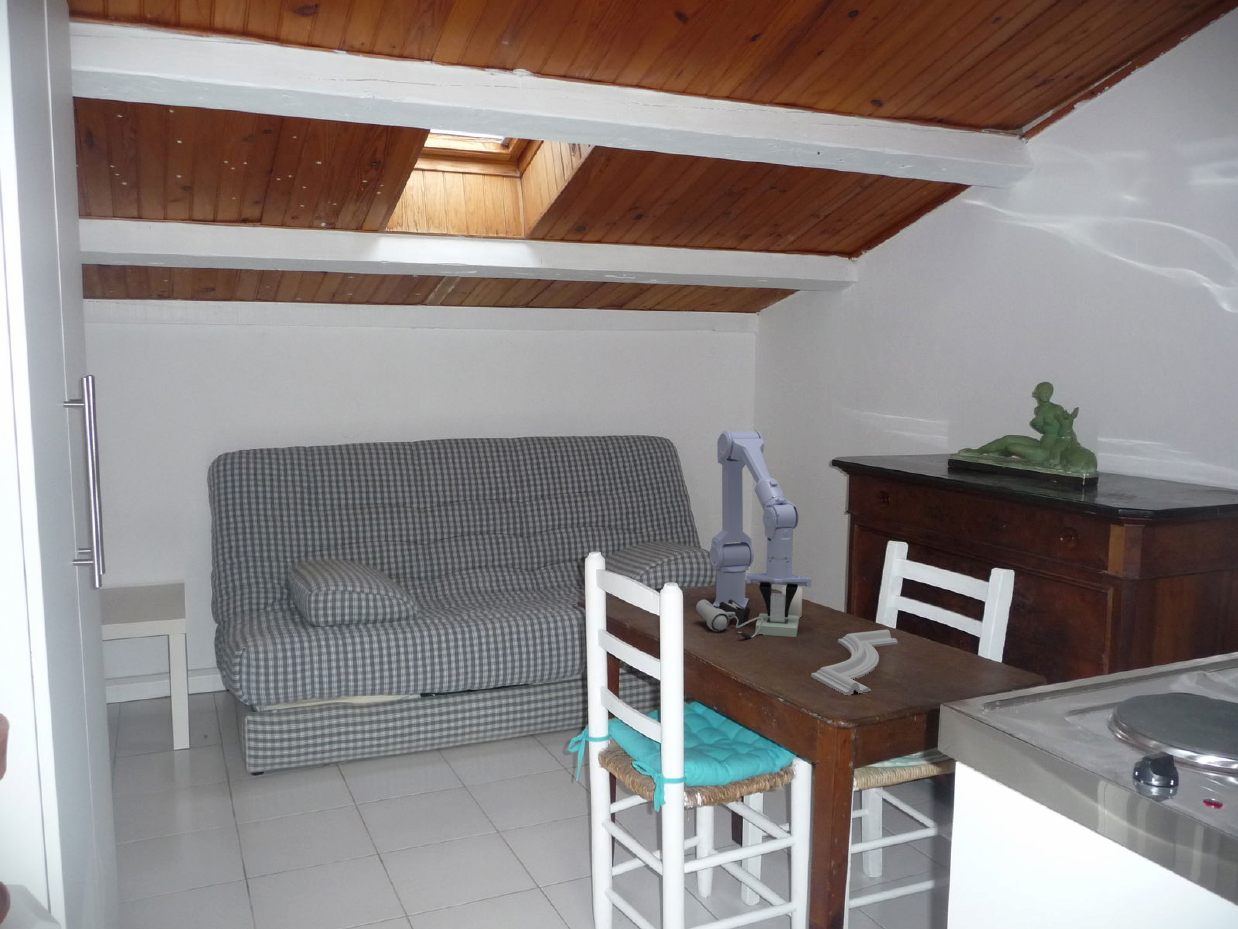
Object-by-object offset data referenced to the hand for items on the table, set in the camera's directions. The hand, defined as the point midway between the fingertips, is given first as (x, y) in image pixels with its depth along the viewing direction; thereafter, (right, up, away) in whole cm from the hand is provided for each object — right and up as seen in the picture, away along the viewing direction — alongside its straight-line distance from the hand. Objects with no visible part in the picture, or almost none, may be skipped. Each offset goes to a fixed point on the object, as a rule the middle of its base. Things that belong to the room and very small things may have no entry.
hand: (777, 615), depth 224 cm
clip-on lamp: (-11, -4, 0) cm, 11 cm away
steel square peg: (0, -2, 0) cm, 2 cm away
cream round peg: (+5, -2, +12) cm, 13 cm away
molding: (+14, -7, -25) cm, 29 cm away
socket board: (0, -3, 0) cm, 3 cm away
